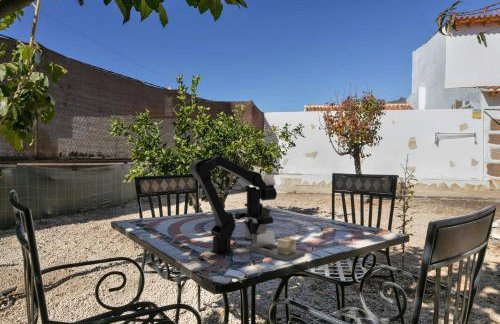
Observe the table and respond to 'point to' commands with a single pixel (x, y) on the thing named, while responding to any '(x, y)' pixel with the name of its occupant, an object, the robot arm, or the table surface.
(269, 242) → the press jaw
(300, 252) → the press bed
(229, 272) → the table surface
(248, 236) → the pillar candle
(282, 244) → the block
